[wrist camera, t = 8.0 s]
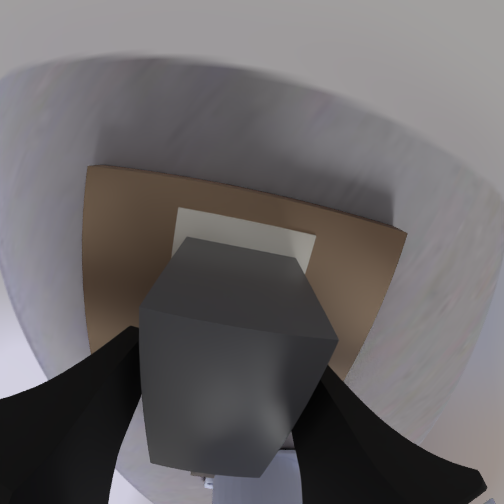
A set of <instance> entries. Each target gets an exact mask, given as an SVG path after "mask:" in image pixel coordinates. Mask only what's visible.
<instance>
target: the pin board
mask: <svg viewBox="0 0 504 504" xmlns="http://www.w3.org/2000/svg"><path fill="white" fill-rule="evenodd" d="M407 234H408V233H406V232H404V231H402V230H400V229H398V228H396V227H394V226H391V225H387V224H384V223H381V222H378V221H374V220H371V219H368V218H364V217H361V216H357V215H354V214H350V213H346V212H343V211H339V210H335V209H332V208H328V207H324V206H320V205H316V204H312V203H309V202H305V201H300V200H296V199H292V198H288V197H284V196H279V195H275V194H271V193H266V192H262V191H257V190H252V189H248V188H243V187H238V186H233V185H228V184H223V183H218V182H213V181H207V180H202V179H196V178H190V177H185V176H179V175H172V174H166V173H160V172H153V171H146V170H139V169H131V168H124V167H116V166H107V165H94V166H88V168H87V176H86V185H85V195H84V208H83V229H82V270H83V290H84V303H85V314H86V323H87V331H88V338H89V344H90V351H91V354H92V353H94V352H95V351H97V350H98V349H99V348H101V347H102V346H103V345H105V344H106V343H107V342H109V341H110V340H111V339H113V338H114V337H115V336H117V335H118V334H119V333H121V332H122V331H123V330H125V329H126V328H127V327H129V326H134V327H138V328H139V306H140V305H141V303H142V302H143V300H144V298H145V297H146V295H147V294H148V292H149V291H150V289H151V288H152V286H153V285H154V283H155V282H156V280H157V279H158V277H159V276H160V274H161V273H162V271H163V270H164V268H165V267H166V265H167V264H168V263H169V261H170V260H171V258H172V257H173V255H174V254H175V253H176V251H177V250H178V248H179V247H180V245H181V244H182V243H183V241H184V240H185V238H186V237H192V238H197V239H202V240H208V241H213V242H218V243H223V244H228V245H233V246H238V247H243V248H248V249H253V250H258V251H263V252H269V253H274V254H279V255H284V256H289V257H294V258H296V259H297V261H298V263H299V265H300V267H301V268H302V270H303V272H304V274H305V276H306V278H307V279H308V281H309V283H310V285H311V287H312V289H313V291H314V293H315V294H316V296H317V298H318V300H319V302H320V304H321V306H322V308H323V310H324V311H325V313H326V315H327V317H328V319H329V321H330V323H331V325H332V327H333V329H334V331H335V333H336V335H337V337H338V339H339V342H338V344H337V346H336V348H335V350H334V352H333V354H332V357H331V359H330V361H329V363H328V365H329V366H330V367H331V369H332V370H333V371H334V372H335V373H336V374H337V375H338V376H339V377H340V379H341V380H342V381H344V379H345V377H346V375H347V374H348V372H349V370H350V368H351V366H352V364H353V363H354V361H355V359H356V357H357V355H358V353H359V351H360V349H361V347H362V345H363V343H364V341H365V339H366V337H367V335H368V333H369V331H370V329H371V327H372V324H373V322H374V320H375V318H376V316H377V313H378V311H379V309H380V307H381V304H382V302H383V300H384V297H385V295H386V292H387V290H388V287H389V285H390V282H391V280H392V277H393V274H394V272H395V269H396V266H397V264H398V261H399V258H400V255H401V252H402V249H403V246H404V243H405V240H406V237H407Z"/></svg>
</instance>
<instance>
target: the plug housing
mask: <svg viewBox="0 0 504 504" xmlns="http://www.w3.org/2000/svg"><path fill="white" fill-rule="evenodd" d="M338 342H339V339H338V337H337V335H336V333H335V331H334V329H333V327H332V325H331V323H330V321H329V319H328V317H327V315H326V313H325V311H324V310H323V308H322V306H321V304H320V302H319V300H318V298H317V296H316V294H315V293H314V291H313V289H312V287H311V285H310V283H309V281H308V279H307V278H306V276H305V274H304V272H303V270H302V268H301V267H300V265H299V263H298V261H297V259H296V258H294V257H289V256H284V255H279V254H274V253H269V252H263V251H258V250H253V249H248V248H243V247H238V246H233V245H228V244H223V243H218V242H213V241H208V240H202V239H197V238H192V237H186V238H185V240H184V241H183V243H182V244H181V245H180V247H179V248H178V250H177V251H176V253H175V254H174V255H173V257H172V258H171V260H170V261H169V263H168V264H167V265H166V267H165V268H164V270H163V271H162V273H161V274H160V276H159V277H158V279H157V280H156V282H155V283H154V285H153V286H152V288H151V289H150V291H149V292H148V294H147V295H146V297H145V298H144V300H143V302H142V303H141V305H140V306H139V354H140V376H141V390H142V402H143V412H144V421H145V429H146V437H147V444H148V450H149V456H150V462H151V463H153V464H157V465H162V466H166V467H171V468H176V469H181V470H186V471H191V475H193V476H200V477H207V478H214V476H215V475H222V476H233V477H248V478H260V477H261V475H262V474H263V473H264V471H265V470H266V468H267V467H268V466H269V464H270V463H271V461H272V460H273V458H274V457H275V455H276V454H277V452H278V451H279V449H280V448H281V446H282V445H283V443H284V442H285V440H286V438H287V437H288V435H289V434H290V432H291V430H292V429H293V427H294V425H295V424H296V422H297V420H298V419H299V417H300V415H301V414H302V412H303V410H304V408H305V407H306V405H307V403H308V401H309V399H310V398H311V396H312V394H313V392H314V390H315V388H316V386H317V384H318V383H319V381H320V379H321V377H322V375H323V373H324V371H325V369H326V367H327V365H328V363H329V361H330V359H331V357H332V354H333V352H334V350H335V348H336V346H337V344H338Z"/></svg>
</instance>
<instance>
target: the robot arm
mask: <svg viewBox="0 0 504 504" xmlns="http://www.w3.org/2000/svg"><path fill="white" fill-rule="evenodd" d="M141 394H142V390H141V376H140V354H139V328H138V327H134V326H129V327H127V328H126V329H125V330H123V331H122V332H121V333H119V334H118V335H117V336H115V337H114V338H113V339H111V340H110V341H109V342H107V343H106V344H105V345H103V346H102V347H101V348H99V349H98V350H97V351H95V352H94V353H92V354H91V355H90V356H88V357H87V358H85V359H84V360H82V361H81V362H79V363H78V364H76V365H74V366H73V367H71V368H70V369H68V370H67V371H65V372H63V373H61V374H60V375H58V376H56V377H54V378H52V379H51V380H49V381H47V382H45V383H43V384H40V385H38V386H36V387H34V388H31V389H29V390H26V391H23V392H21V393H18V394H15V395H13V396H10V397H6V398H3V399H0V504H108V501H109V494H110V489H111V483H112V478H113V474H114V469H115V465H116V461H117V456H118V453H119V450H120V447H121V444H122V442H123V439H124V436H125V434H126V431H127V429H128V427H129V424H130V422H131V419H132V417H133V414H134V412H135V409H136V407H137V405H138V402H139V400H140V397H141ZM291 431H292V436H293V441H294V446H295V450H279V451H278V452H277V454H276V455H275V457H274V458H273V460H272V461H271V463H270V464H269V466H268V467H267V468H266V470H265V471H264V473H263V474H262V475H261V477H260V478H248V477H233V476H222V475H215V476H214V478H207V477H206V479H205V482H204V487H206V488H211V489H213V497H212V504H468V503H470V502H471V501H472V500H474V499H475V498H477V497H478V496H479V495H481V494H482V493H483V492H485V491H486V489H487V486H486V484H485V482H484V480H483V478H482V476H481V474H480V473H479V471H478V470H475V469H472V468H468V467H465V466H461V465H458V464H455V463H452V462H450V461H447V460H445V459H443V458H440V457H438V456H436V455H434V454H432V453H430V452H428V451H426V450H424V449H423V448H421V447H419V446H417V445H416V444H414V443H412V442H411V441H409V440H408V439H406V438H405V437H403V436H402V435H400V434H399V433H398V432H396V431H395V430H394V429H392V428H391V427H390V426H389V425H387V424H386V423H385V422H384V421H382V420H381V419H380V418H379V417H378V416H377V415H376V414H375V413H374V412H372V411H371V410H370V409H369V408H368V407H367V406H366V405H365V404H364V403H363V402H362V401H361V400H360V399H359V398H358V397H357V396H356V395H355V394H354V393H353V392H352V391H351V390H350V388H349V387H348V386H347V385H346V384H345V383H344V382H343V381H342V380H341V379H340V377H339V376H338V375H337V374H336V373H335V372H334V371H333V370H332V369H331V367H330V366H329V365H327V367H326V369H325V371H324V373H323V375H322V377H321V379H320V381H319V383H318V384H317V386H316V388H315V390H314V392H313V394H312V396H311V398H310V399H309V401H308V403H307V405H306V407H305V408H304V410H303V412H302V414H301V415H300V417H299V419H298V420H297V422H296V424H295V425H294V427H293V429H292V430H291ZM484 504H495V501H494V499H493V498H491V499H489V500H488V501H487V502H485V503H484Z"/></svg>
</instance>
